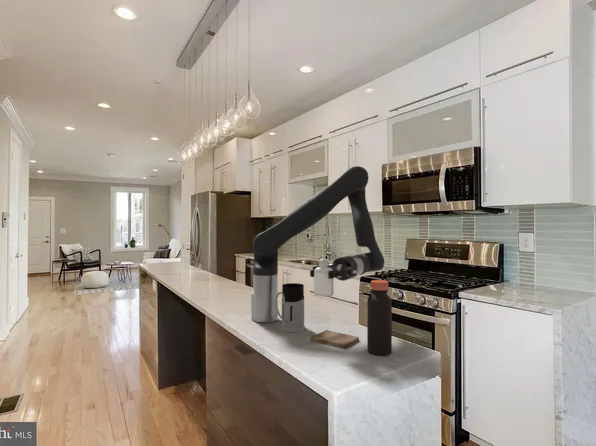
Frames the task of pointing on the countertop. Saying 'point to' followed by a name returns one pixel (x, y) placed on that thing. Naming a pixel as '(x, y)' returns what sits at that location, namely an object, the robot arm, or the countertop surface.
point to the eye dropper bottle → (323, 279)
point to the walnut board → (335, 339)
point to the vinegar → (379, 319)
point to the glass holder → (292, 307)
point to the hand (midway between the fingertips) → (320, 274)
